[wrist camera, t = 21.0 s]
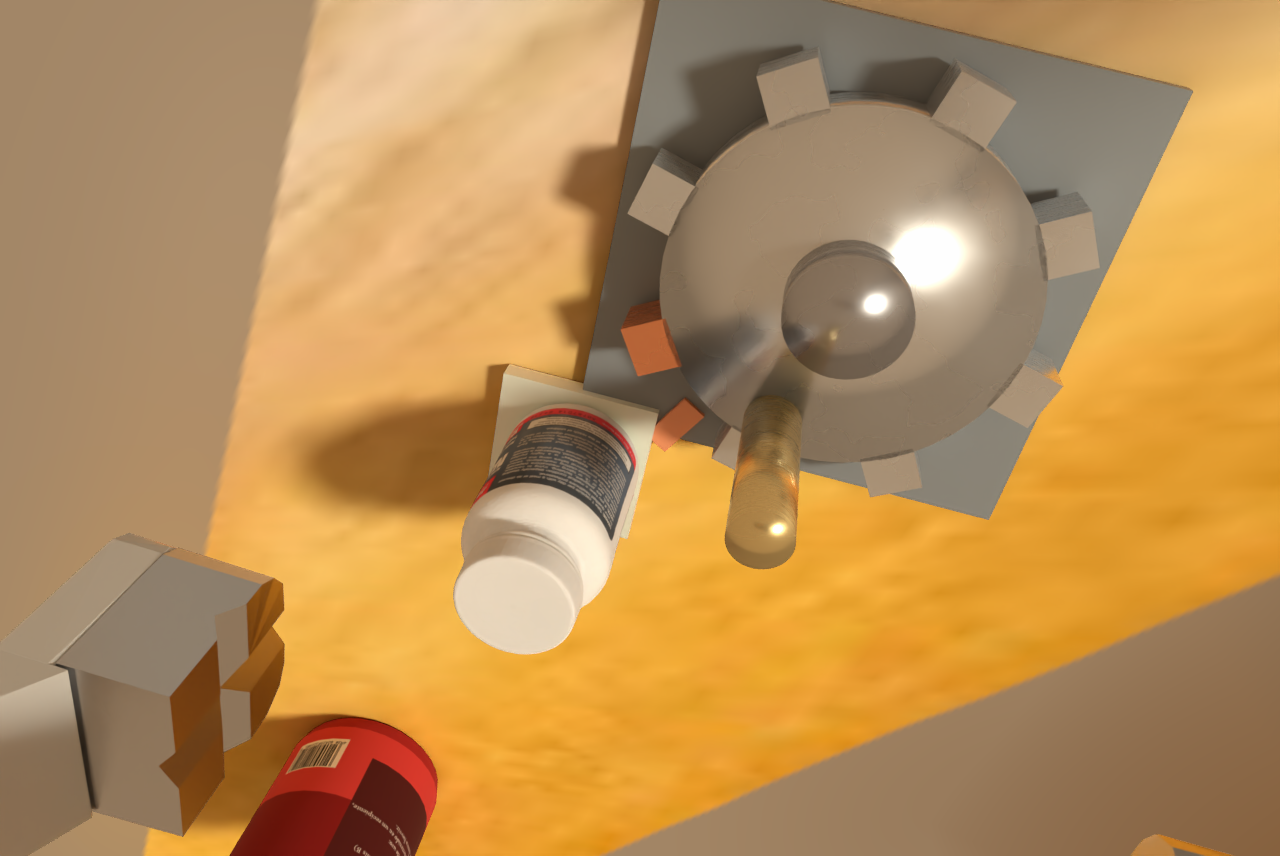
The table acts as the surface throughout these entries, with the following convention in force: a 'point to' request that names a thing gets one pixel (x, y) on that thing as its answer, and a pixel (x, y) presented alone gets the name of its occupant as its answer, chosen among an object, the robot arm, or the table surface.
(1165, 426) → the table surface
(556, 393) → the pad
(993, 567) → the table surface
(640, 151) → the gray square plate
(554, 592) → the pill bottle
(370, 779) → the canned food
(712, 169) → the sprocket
